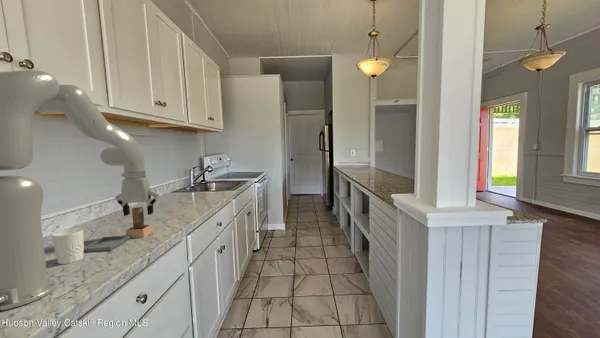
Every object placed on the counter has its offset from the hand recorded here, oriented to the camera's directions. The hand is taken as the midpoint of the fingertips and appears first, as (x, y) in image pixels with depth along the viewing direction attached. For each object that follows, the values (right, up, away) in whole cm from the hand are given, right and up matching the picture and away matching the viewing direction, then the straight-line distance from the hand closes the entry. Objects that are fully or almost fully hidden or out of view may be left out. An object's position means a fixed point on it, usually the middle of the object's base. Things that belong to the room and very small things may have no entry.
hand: (138, 214), depth 108 cm
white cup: (-9, -12, -22) cm, 27 cm away
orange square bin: (0, -10, 0) cm, 10 cm away
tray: (-5, -11, -11) cm, 16 cm away
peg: (0, -9, 0) cm, 9 cm away
